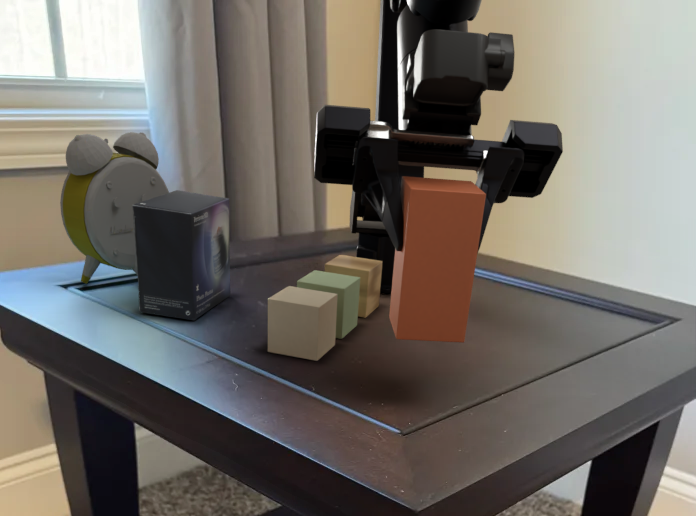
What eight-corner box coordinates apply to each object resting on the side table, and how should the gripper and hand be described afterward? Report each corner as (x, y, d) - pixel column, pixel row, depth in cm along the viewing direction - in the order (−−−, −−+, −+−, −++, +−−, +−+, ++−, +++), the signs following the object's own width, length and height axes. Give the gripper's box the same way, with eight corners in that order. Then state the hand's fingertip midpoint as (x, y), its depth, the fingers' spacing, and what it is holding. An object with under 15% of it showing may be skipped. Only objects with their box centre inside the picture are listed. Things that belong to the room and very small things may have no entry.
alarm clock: (149, 266, 94) (138, 128, 86) (188, 278, 91) (180, 136, 83) (67, 282, 86) (46, 131, 78) (107, 296, 83) (89, 140, 75)
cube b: (312, 317, 82) (314, 269, 79) (357, 325, 81) (360, 277, 78) (295, 331, 78) (296, 280, 75) (341, 339, 77) (344, 288, 74)
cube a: (337, 299, 89) (339, 254, 86) (379, 306, 88) (382, 260, 85) (322, 310, 84) (324, 263, 82) (365, 318, 83) (369, 270, 81)
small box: (197, 323, 78) (192, 212, 72) (137, 314, 79) (127, 204, 73) (234, 296, 86) (232, 195, 81) (179, 288, 87) (173, 188, 82)
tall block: (388, 317, 65) (401, 175, 59) (452, 321, 66) (471, 181, 60) (395, 339, 61) (410, 188, 55) (464, 342, 61) (486, 193, 55)
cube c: (287, 336, 76) (288, 285, 74) (335, 345, 75) (337, 293, 73) (267, 351, 72) (267, 298, 70) (317, 361, 71) (319, 307, 69)
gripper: (321, -31, 53) (319, 171, 49) (584, -4, 55) (598, 191, 52) (314, 93, 63) (313, 265, 60) (534, 112, 66) (543, 279, 62)
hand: (437, 250), depth 58 cm, fingers closed on tall block, 5 cm apart
